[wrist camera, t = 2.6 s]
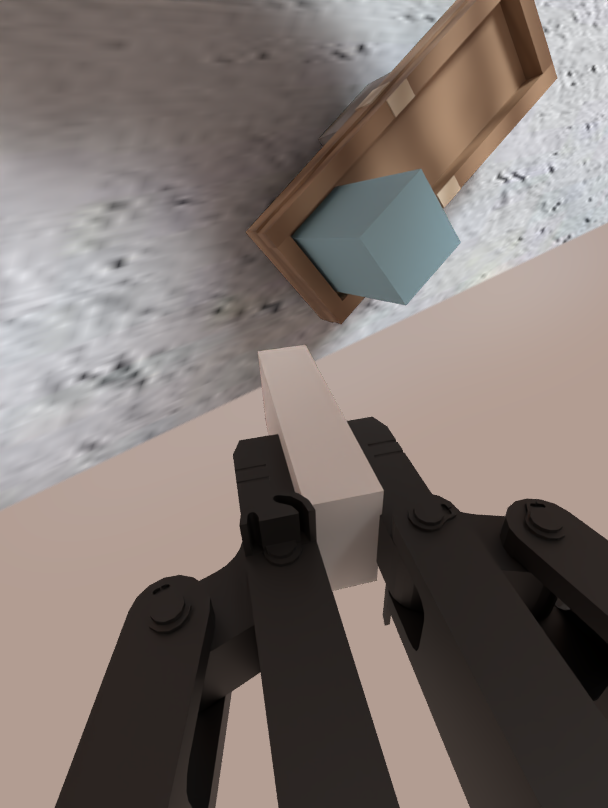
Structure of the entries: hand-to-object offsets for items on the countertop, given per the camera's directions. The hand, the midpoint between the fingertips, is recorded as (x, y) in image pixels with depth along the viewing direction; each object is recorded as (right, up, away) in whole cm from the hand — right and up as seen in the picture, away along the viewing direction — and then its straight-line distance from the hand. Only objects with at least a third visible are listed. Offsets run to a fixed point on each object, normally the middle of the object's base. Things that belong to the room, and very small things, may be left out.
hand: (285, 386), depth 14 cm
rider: (+3, +11, +18) cm, 21 cm away
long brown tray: (+6, +20, +22) cm, 30 cm away
